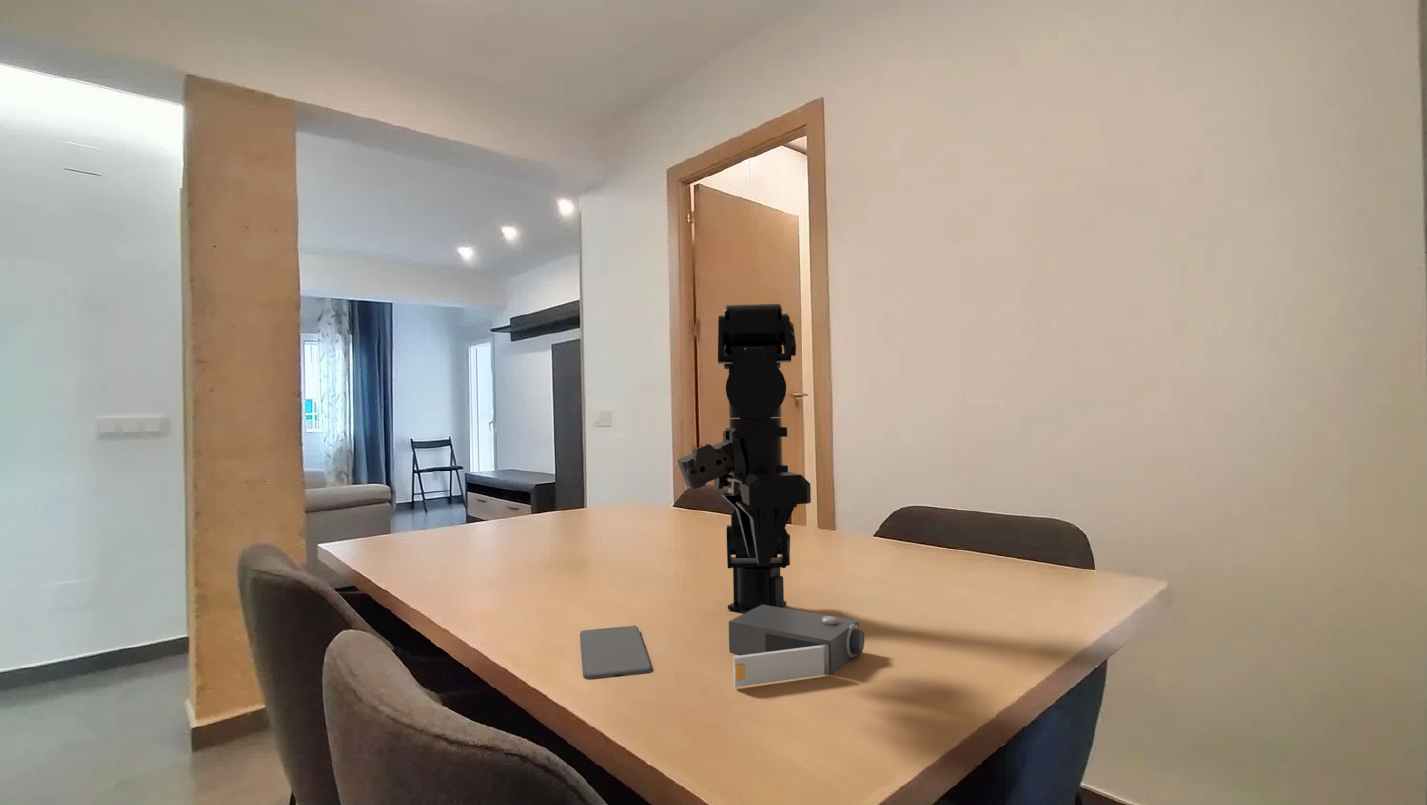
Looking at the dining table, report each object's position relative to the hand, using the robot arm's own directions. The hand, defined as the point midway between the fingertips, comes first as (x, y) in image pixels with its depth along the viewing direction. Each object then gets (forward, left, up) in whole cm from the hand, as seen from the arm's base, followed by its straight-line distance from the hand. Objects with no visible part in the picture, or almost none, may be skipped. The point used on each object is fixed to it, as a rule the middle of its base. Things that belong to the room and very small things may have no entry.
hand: (758, 561), depth 70 cm
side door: (+3, -1, -12) cm, 12 cm away
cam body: (0, +7, -12) cm, 14 cm away
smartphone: (-18, -4, -13) cm, 22 cm away
